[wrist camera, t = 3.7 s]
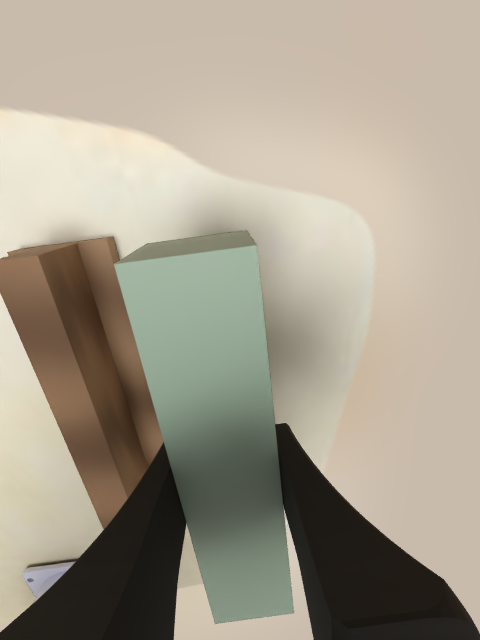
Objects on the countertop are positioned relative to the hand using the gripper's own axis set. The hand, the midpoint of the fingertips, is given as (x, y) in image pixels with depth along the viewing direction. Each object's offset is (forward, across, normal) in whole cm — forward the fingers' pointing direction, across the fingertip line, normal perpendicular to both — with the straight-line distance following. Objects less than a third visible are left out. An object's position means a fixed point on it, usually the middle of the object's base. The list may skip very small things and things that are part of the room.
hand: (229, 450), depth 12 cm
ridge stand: (+8, +8, +2) cm, 11 cm away
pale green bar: (+2, 0, 0) cm, 2 cm away
